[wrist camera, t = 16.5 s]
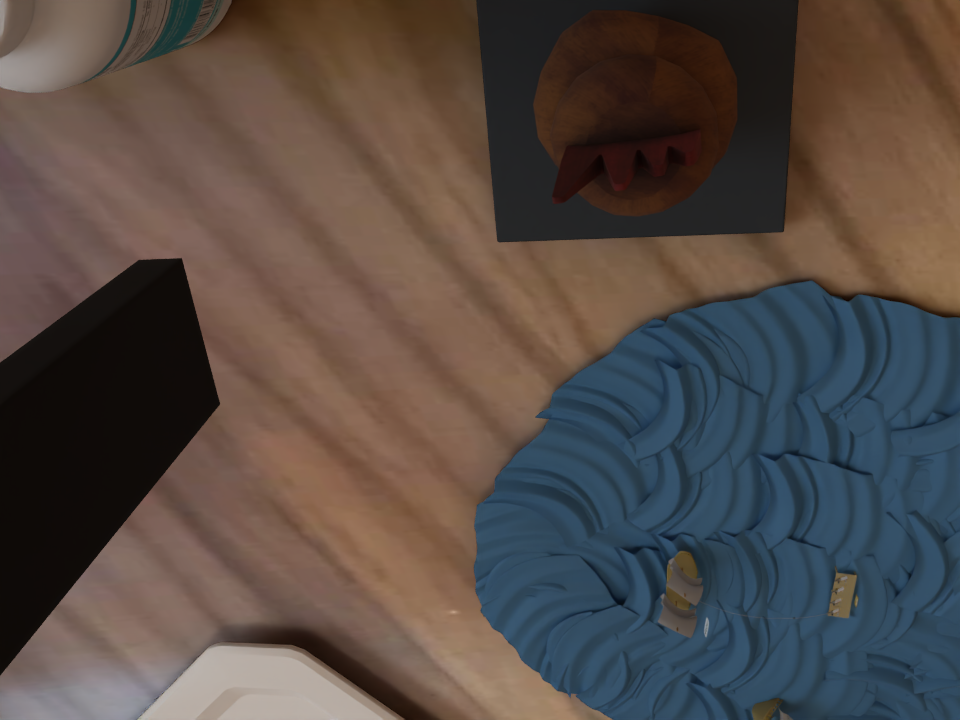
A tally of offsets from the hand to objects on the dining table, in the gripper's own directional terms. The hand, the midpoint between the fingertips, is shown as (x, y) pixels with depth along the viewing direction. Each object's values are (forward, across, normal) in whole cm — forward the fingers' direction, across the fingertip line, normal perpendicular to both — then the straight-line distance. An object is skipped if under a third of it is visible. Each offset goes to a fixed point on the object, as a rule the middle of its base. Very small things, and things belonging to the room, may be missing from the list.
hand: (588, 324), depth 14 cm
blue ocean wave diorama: (+25, +7, -25) cm, 36 cm away
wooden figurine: (+24, +1, -1) cm, 24 cm away
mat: (+25, +1, -1) cm, 25 cm away
